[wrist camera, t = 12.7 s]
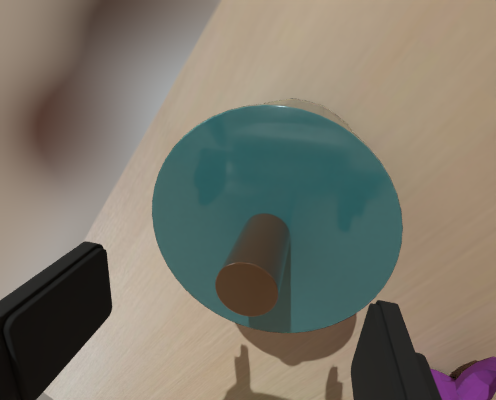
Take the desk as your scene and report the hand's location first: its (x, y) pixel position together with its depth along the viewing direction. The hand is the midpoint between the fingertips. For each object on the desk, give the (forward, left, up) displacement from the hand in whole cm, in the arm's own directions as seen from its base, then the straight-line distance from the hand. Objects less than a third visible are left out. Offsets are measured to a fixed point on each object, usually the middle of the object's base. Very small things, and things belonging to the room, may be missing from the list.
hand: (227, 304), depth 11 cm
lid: (0, 0, -6) cm, 6 cm away
